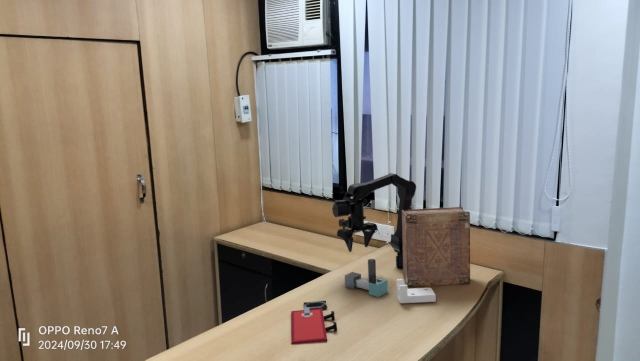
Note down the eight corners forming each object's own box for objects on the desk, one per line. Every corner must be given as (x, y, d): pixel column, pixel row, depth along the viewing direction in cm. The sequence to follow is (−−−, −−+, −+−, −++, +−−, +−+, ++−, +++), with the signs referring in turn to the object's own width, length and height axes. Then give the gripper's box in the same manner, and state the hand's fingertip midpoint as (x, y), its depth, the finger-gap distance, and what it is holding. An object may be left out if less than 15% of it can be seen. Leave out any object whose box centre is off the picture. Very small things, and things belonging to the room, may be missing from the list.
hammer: (353, 285, 191) (352, 257, 189) (357, 283, 193) (356, 255, 192) (376, 292, 184) (375, 262, 182) (381, 289, 186) (380, 260, 184)
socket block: (368, 294, 184) (368, 282, 183) (378, 289, 189) (378, 277, 188) (378, 297, 181) (378, 284, 180) (387, 292, 186) (387, 279, 185)
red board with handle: (330, 302, 179) (291, 306, 178) (330, 295, 178) (290, 299, 178) (339, 341, 149) (291, 346, 149) (338, 333, 149) (291, 338, 148)
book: (463, 276, 199) (463, 206, 194) (470, 284, 190) (470, 211, 185) (403, 279, 199) (401, 209, 194) (407, 287, 190) (406, 214, 185)
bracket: (400, 305, 173) (400, 286, 172) (397, 298, 180) (396, 279, 179) (435, 304, 174) (435, 284, 172) (430, 296, 181) (430, 277, 179)
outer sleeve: (345, 287, 193) (344, 275, 192) (352, 283, 197) (352, 271, 196) (353, 289, 190) (353, 277, 189) (361, 285, 194) (360, 274, 193)
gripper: (360, 207, 212) (361, 241, 215) (328, 215, 201) (329, 250, 204) (377, 211, 204) (378, 246, 206) (345, 219, 192) (346, 255, 195)
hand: (358, 249), depth 203 cm, fingers open, 9 cm apart
